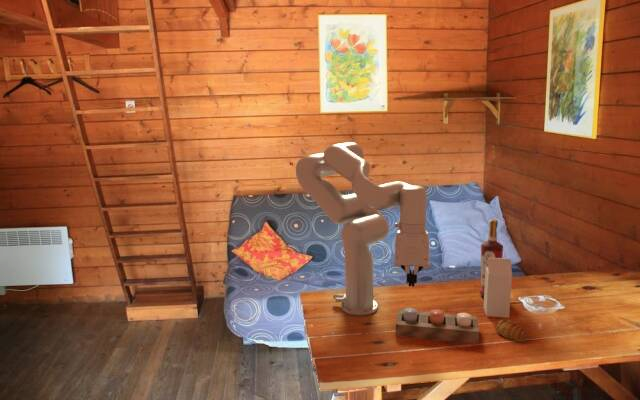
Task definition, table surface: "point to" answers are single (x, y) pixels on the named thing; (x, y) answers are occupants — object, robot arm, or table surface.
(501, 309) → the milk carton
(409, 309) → the grey rounded block
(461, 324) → the white button
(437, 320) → the brick key
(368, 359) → the table surface
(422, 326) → the console
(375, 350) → the table surface
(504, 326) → the pastry
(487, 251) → the liquor
